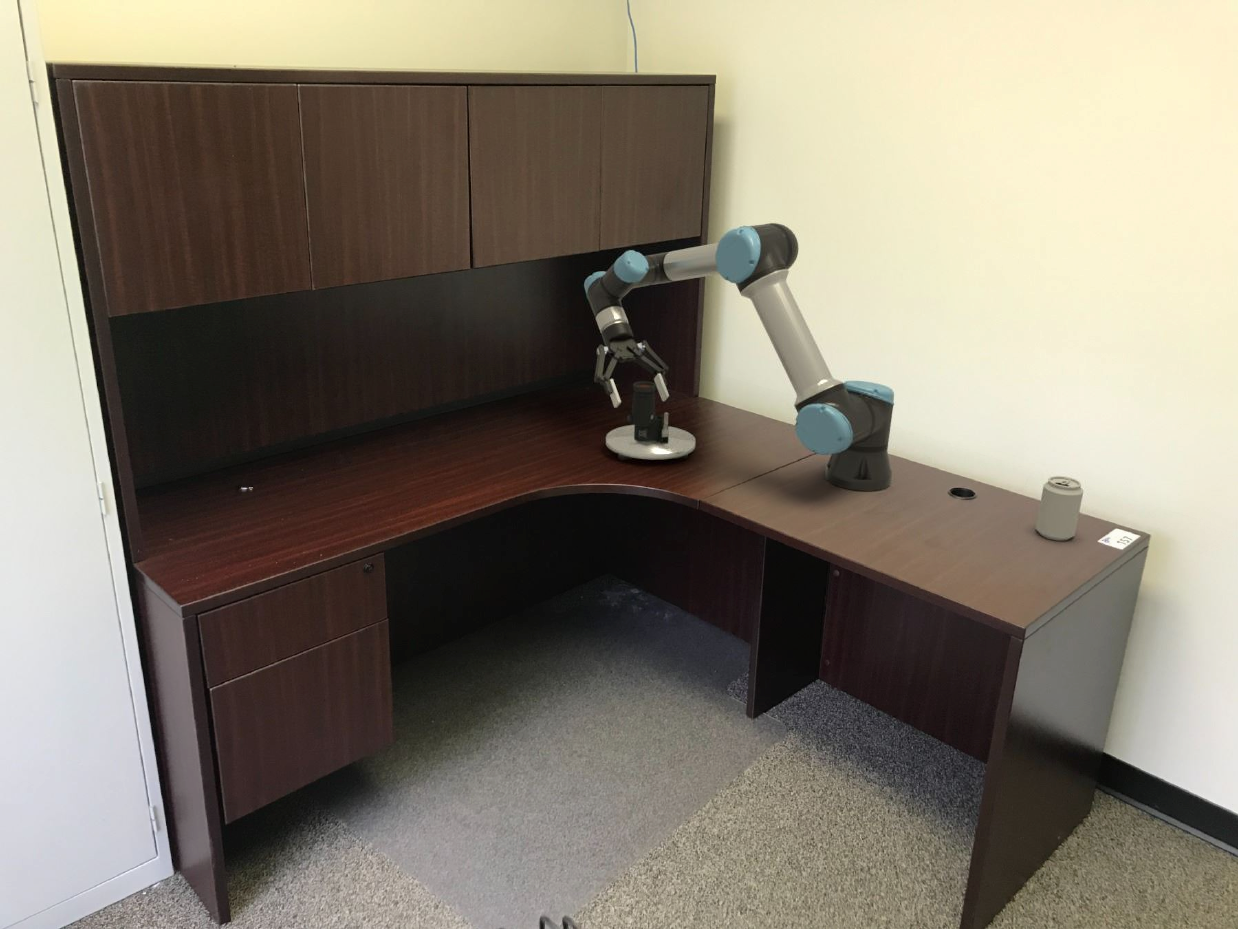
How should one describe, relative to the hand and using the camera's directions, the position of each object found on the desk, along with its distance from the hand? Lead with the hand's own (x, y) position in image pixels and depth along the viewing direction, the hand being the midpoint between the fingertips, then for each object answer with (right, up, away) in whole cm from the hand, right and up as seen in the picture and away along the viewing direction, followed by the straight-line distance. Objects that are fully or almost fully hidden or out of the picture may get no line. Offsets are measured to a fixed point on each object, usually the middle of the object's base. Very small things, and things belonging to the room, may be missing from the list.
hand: (642, 401), depth 249 cm
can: (+84, -30, -40) cm, 98 cm away
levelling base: (+2, -12, +1) cm, 12 cm away
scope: (+1, -9, -1) cm, 9 cm away
